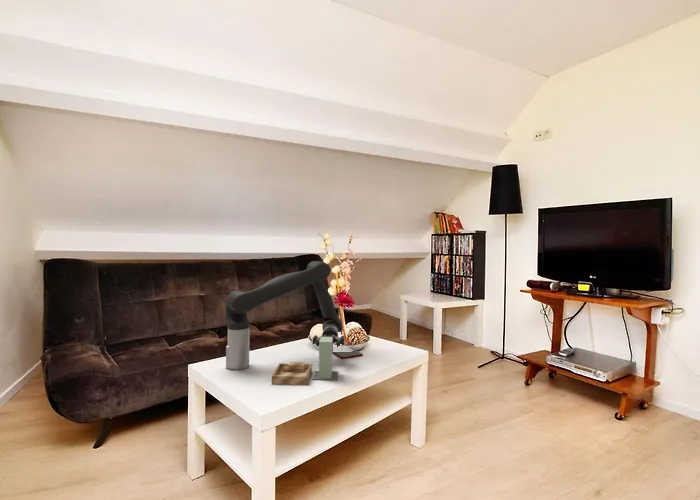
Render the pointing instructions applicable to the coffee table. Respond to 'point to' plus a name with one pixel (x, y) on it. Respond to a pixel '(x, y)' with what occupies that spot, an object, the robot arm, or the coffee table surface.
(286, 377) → the wooden tray
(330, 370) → the green rectangular block
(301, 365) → the offcut upper
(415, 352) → the coffee table surface
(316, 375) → the mat
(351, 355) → the smartphone
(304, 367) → the offcut lower
